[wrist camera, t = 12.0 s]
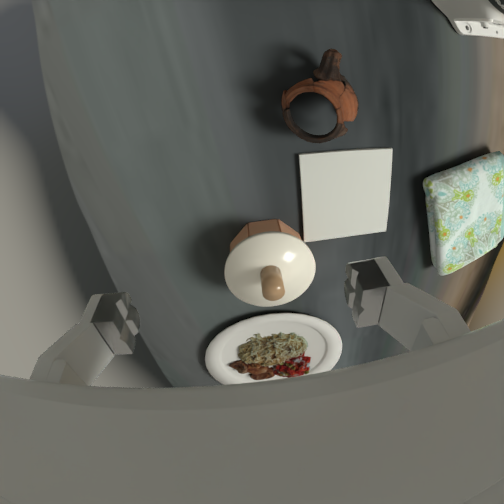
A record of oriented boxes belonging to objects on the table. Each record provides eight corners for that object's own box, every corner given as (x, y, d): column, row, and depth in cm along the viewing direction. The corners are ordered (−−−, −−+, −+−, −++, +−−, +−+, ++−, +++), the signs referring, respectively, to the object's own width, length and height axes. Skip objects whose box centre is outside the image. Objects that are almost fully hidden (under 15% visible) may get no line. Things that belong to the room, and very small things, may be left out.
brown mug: (356, 130, 38) (347, 157, 33) (291, 116, 40) (272, 140, 36) (367, 50, 29) (362, 61, 24) (294, 39, 31) (272, 48, 26)
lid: (313, 225, 40) (322, 245, 36) (314, 296, 47) (320, 318, 43) (216, 238, 40) (214, 260, 36) (232, 307, 47) (233, 330, 43)
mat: (390, 147, 39) (392, 148, 38) (384, 229, 47) (386, 231, 46) (298, 153, 39) (299, 155, 38) (303, 240, 47) (304, 242, 46)
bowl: (298, 216, 44) (305, 233, 40) (301, 272, 51) (306, 292, 46) (226, 225, 45) (225, 244, 41) (237, 281, 51) (238, 301, 47)
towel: (429, 268, 53) (441, 284, 49) (418, 174, 42) (435, 187, 37) (492, 234, 49) (505, 248, 45) (491, 144, 38) (509, 154, 34)
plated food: (222, 294, 53) (222, 307, 50) (364, 317, 59) (369, 329, 56) (195, 379, 69) (194, 391, 66) (306, 390, 75) (308, 401, 72)
